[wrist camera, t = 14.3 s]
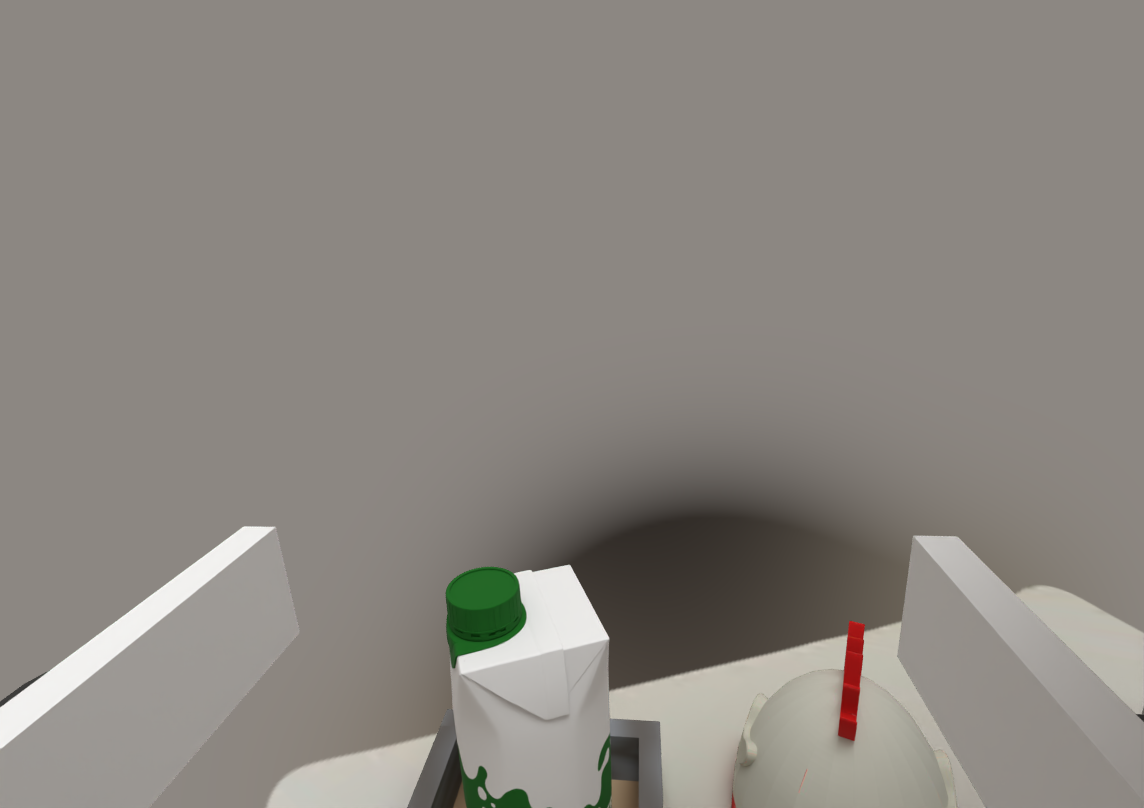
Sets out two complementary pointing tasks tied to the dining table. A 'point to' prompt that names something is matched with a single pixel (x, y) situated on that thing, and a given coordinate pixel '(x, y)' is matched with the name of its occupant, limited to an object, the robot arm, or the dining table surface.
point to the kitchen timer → (838, 746)
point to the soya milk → (529, 690)
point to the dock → (632, 767)
